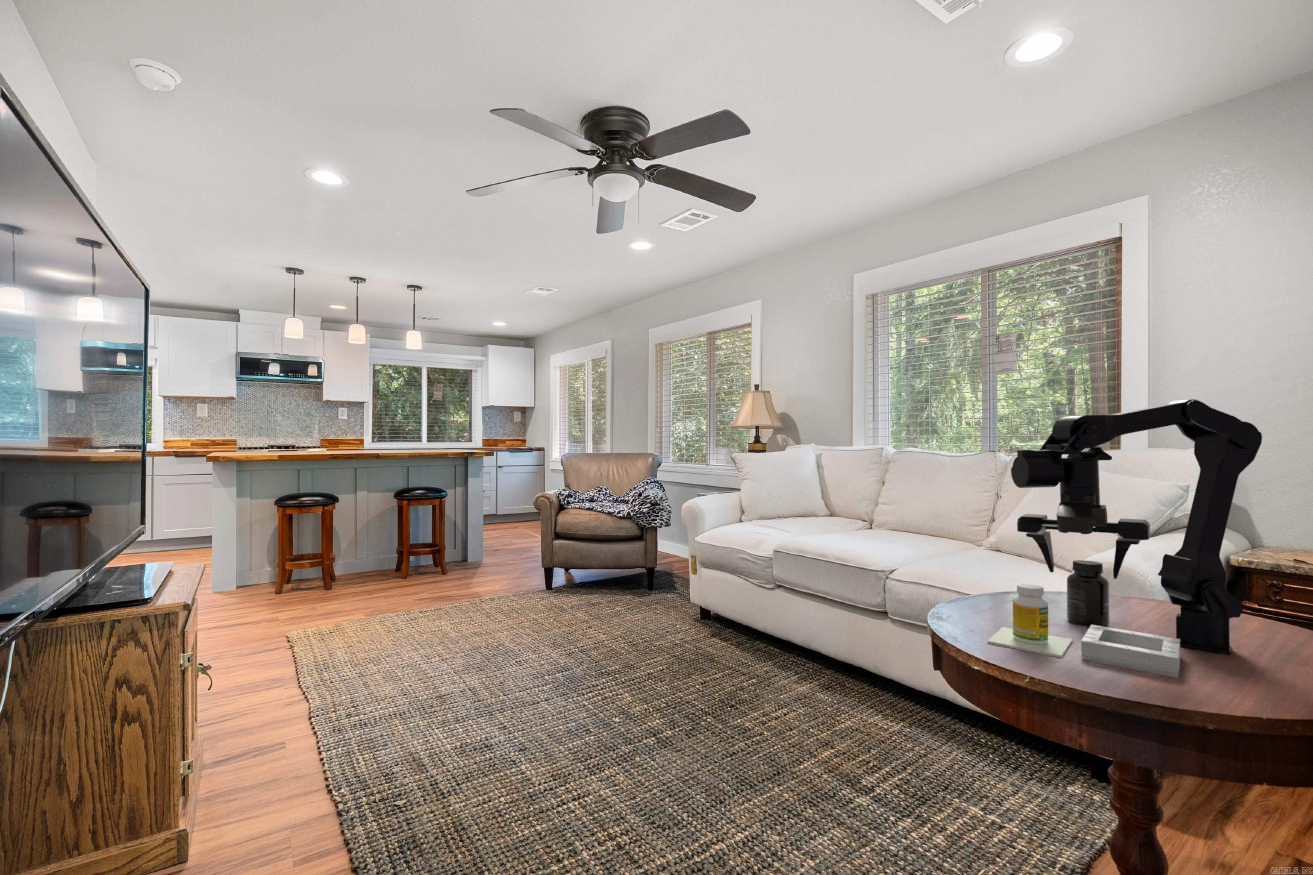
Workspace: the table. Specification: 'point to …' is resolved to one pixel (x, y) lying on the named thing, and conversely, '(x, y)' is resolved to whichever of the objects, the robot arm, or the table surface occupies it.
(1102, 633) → the grey square frame
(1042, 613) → the supplement bottle
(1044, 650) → the sage pad
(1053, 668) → the table surface
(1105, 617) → the supplement bottle
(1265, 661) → the table surface
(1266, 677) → the table surface
